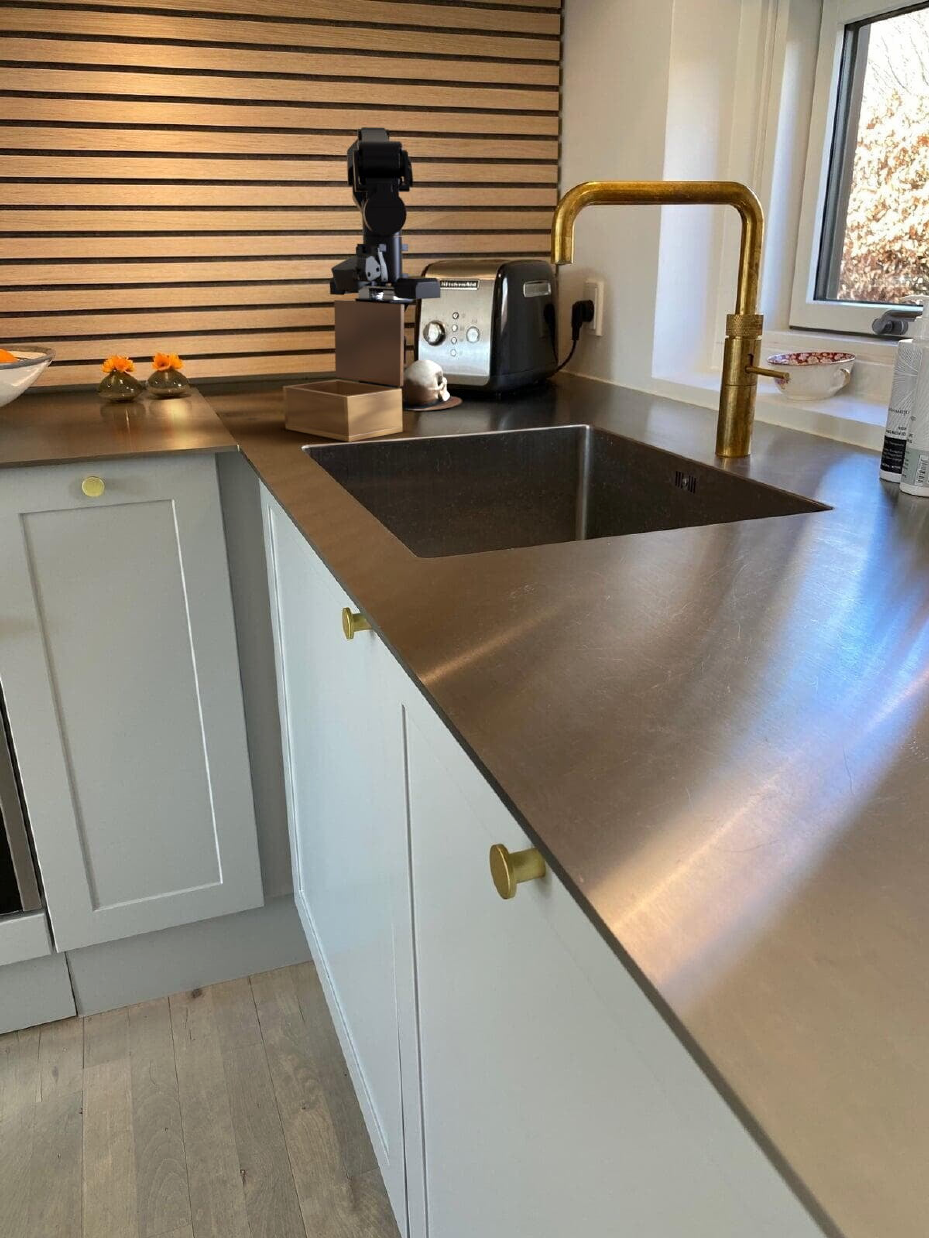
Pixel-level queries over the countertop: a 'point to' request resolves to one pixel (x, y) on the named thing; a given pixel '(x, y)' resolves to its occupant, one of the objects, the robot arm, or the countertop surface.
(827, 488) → the countertop surface
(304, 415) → the chest
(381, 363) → the lid
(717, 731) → the countertop surface
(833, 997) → the countertop surface
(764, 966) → the countertop surface
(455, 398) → the skull
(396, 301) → the robot arm
